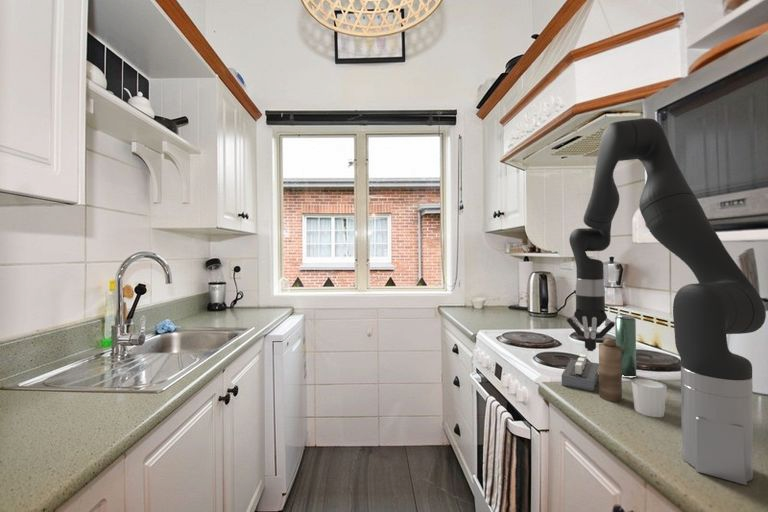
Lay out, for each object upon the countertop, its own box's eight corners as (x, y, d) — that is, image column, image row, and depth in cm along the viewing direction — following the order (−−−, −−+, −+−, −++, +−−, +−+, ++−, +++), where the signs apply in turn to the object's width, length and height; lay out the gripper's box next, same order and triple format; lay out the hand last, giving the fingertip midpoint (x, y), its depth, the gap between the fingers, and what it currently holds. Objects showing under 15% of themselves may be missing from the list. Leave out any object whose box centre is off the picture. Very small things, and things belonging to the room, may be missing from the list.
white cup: (674, 419, 77) (674, 389, 77) (640, 417, 79) (640, 387, 79) (656, 406, 84) (656, 378, 84) (626, 404, 85) (625, 377, 85)
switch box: (593, 391, 93) (593, 380, 93) (561, 385, 98) (561, 374, 98) (599, 372, 108) (598, 363, 108) (571, 367, 112) (570, 358, 112)
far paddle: (585, 365, 105) (585, 356, 105) (579, 364, 106) (579, 355, 106) (586, 362, 108) (586, 354, 108) (580, 361, 108) (580, 353, 108)
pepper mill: (621, 403, 86) (620, 341, 86) (598, 398, 89) (597, 338, 89) (622, 396, 90) (621, 337, 90) (600, 392, 93) (599, 335, 93)
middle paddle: (583, 369, 101) (583, 361, 101) (577, 368, 102) (577, 360, 102) (584, 366, 104) (584, 358, 104) (578, 365, 104) (578, 357, 104)
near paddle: (581, 374, 97) (581, 365, 97) (575, 373, 98) (575, 364, 98) (582, 371, 100) (582, 362, 100) (576, 370, 101) (576, 361, 100)
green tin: (636, 379, 101) (635, 318, 101) (615, 376, 104) (614, 316, 104) (636, 374, 106) (635, 315, 105) (616, 371, 109) (615, 313, 109)
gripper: (563, 293, 102) (564, 349, 102) (615, 296, 94) (616, 357, 94) (567, 291, 108) (568, 344, 108) (617, 293, 100) (617, 351, 100)
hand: (590, 350), depth 101 cm, fingers closed
